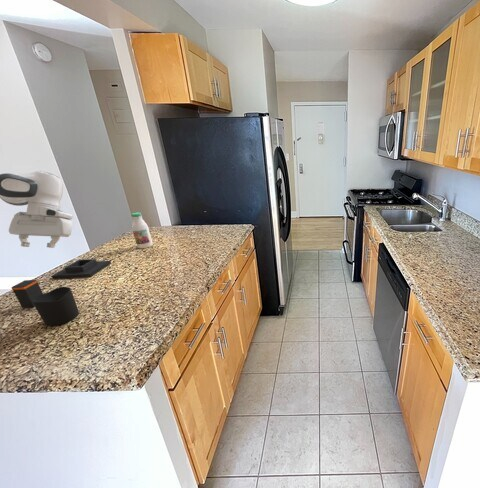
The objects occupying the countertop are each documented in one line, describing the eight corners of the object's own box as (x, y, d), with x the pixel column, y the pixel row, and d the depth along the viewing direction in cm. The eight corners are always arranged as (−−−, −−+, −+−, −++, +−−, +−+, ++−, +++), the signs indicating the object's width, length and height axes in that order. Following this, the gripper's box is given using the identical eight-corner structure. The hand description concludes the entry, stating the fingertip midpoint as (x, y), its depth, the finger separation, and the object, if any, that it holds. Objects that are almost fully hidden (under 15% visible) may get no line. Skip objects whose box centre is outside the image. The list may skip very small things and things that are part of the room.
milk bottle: (141, 244, 155) (132, 211, 148) (155, 243, 156) (146, 211, 148) (134, 249, 148) (124, 215, 141) (148, 248, 149) (139, 214, 141)
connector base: (52, 278, 117) (49, 270, 115) (77, 264, 130) (74, 257, 128) (90, 276, 118) (87, 269, 117) (111, 263, 131) (108, 256, 130)
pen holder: (73, 323, 88) (61, 298, 84) (37, 330, 85) (24, 304, 81) (85, 308, 96) (75, 284, 92) (53, 313, 93) (41, 289, 89)
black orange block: (22, 308, 96) (10, 287, 93) (34, 300, 101) (24, 280, 98) (34, 307, 97) (23, 286, 93) (46, 299, 101) (36, 279, 98)
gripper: (6, 209, 100) (-1, 245, 98) (62, 212, 101) (57, 247, 99) (24, 213, 106) (18, 246, 104) (77, 215, 107) (72, 248, 106)
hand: (37, 247), depth 102 cm, fingers open, 8 cm apart
